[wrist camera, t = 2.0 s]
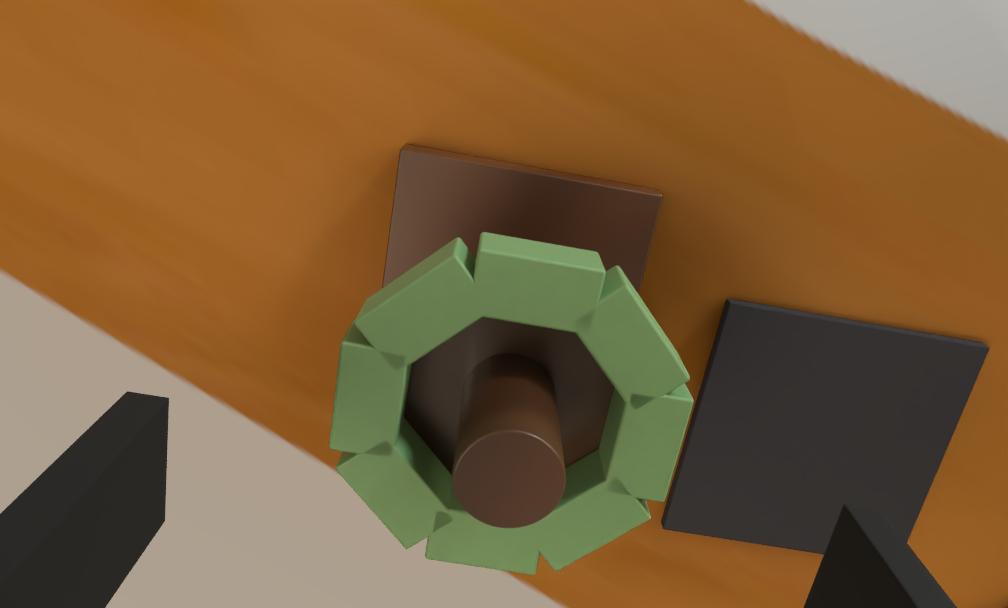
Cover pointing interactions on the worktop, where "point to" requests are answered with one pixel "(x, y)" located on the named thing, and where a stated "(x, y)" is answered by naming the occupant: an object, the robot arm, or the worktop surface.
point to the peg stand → (511, 327)
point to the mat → (816, 425)
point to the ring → (528, 300)
